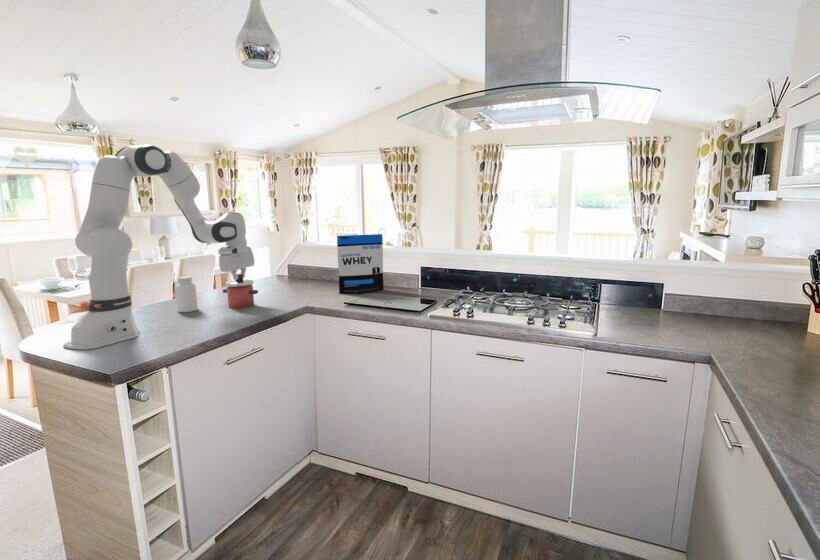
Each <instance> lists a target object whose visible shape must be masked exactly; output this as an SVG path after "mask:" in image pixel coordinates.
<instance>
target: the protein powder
mask: <svg viewBox="0 0 820 560" xmlns="http://www.w3.org/2000/svg"><path fill="white" fill-rule="evenodd" d="M336 240H337V241H336V244H337V246H336V247H337V263H338V264H337V265H338V267H337V268H338V287H339V288H338V290H339V291H338V292H339V294H341V295H342V294H343V295H361V294H371V293H377V292H380V291H385V290H384V287H385V286H384V249H383V247H384V244H383V243H384V242H383V234H382V233H381V234H380V233H378V234H377V233H376V234H354V235H353V234H352V235H348V234H347V235H336Z"/></svg>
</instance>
